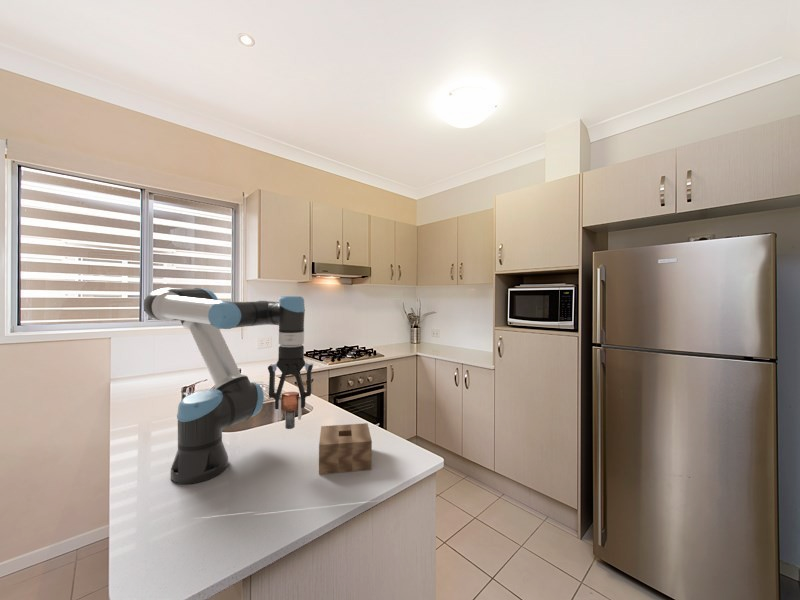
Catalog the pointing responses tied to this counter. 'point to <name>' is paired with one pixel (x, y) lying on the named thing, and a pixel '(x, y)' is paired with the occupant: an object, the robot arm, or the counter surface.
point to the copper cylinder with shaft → (290, 408)
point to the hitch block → (345, 448)
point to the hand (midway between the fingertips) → (290, 418)
